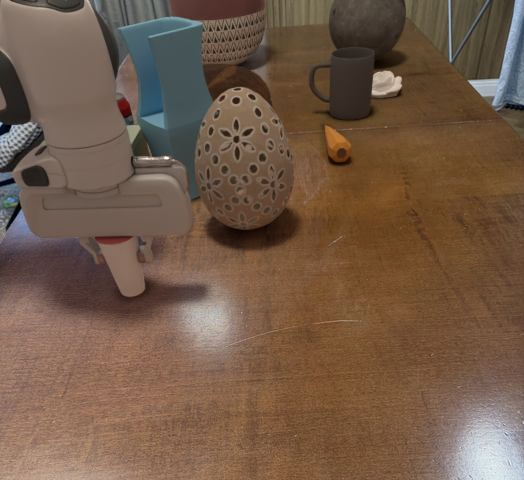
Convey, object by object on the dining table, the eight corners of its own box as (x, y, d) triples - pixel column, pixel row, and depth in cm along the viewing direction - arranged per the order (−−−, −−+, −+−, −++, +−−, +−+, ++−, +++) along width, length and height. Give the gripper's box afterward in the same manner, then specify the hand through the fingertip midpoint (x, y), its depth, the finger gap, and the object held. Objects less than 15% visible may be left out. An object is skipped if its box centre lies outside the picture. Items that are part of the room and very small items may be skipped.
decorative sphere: (353, 48, 150) (358, -35, 137) (414, 57, 140) (425, -33, 126) (313, 66, 140) (314, -23, 126) (375, 76, 130) (383, -18, 116)
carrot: (347, 168, 94) (357, 144, 92) (325, 161, 93) (335, 137, 90) (330, 138, 110) (338, 117, 107) (311, 131, 109) (319, 110, 106)
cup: (135, 273, 72) (112, 196, 64) (160, 286, 70) (140, 207, 62) (105, 292, 70) (78, 214, 61) (130, 306, 67) (105, 226, 59)
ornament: (197, 249, 76) (173, 111, 62) (210, 202, 87) (191, 75, 73) (294, 247, 75) (291, 106, 61) (295, 199, 85) (293, 70, 71)
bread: (130, 128, 114) (120, 86, 108) (179, 89, 133) (173, 51, 126) (249, 135, 107) (246, 91, 101) (283, 92, 125) (282, 53, 119)
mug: (369, 105, 115) (373, 45, 107) (371, 120, 109) (376, 58, 101) (309, 107, 117) (309, 48, 109) (308, 121, 111) (308, 60, 102)
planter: (238, 82, 134) (227, -47, 115) (159, 73, 144) (137, -46, 126) (285, 55, 150) (282, -62, 131) (211, 48, 160) (199, -60, 142)
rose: (414, 70, 118) (388, 80, 113) (411, 90, 121) (385, 101, 116) (380, 63, 123) (354, 72, 119) (378, 82, 126) (352, 93, 122)
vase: (152, 186, 92) (116, 28, 75) (196, 168, 97) (171, 15, 79) (181, 204, 87) (150, 37, 69) (226, 184, 91) (208, 23, 74)
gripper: (188, 144, 58) (205, 246, 68) (20, 150, 60) (59, 249, 70) (179, 167, 54) (198, 273, 63) (-3, 174, 56) (42, 276, 65)
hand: (124, 261), depth 67 cm, fingers closed on cup, 4 cm apart
